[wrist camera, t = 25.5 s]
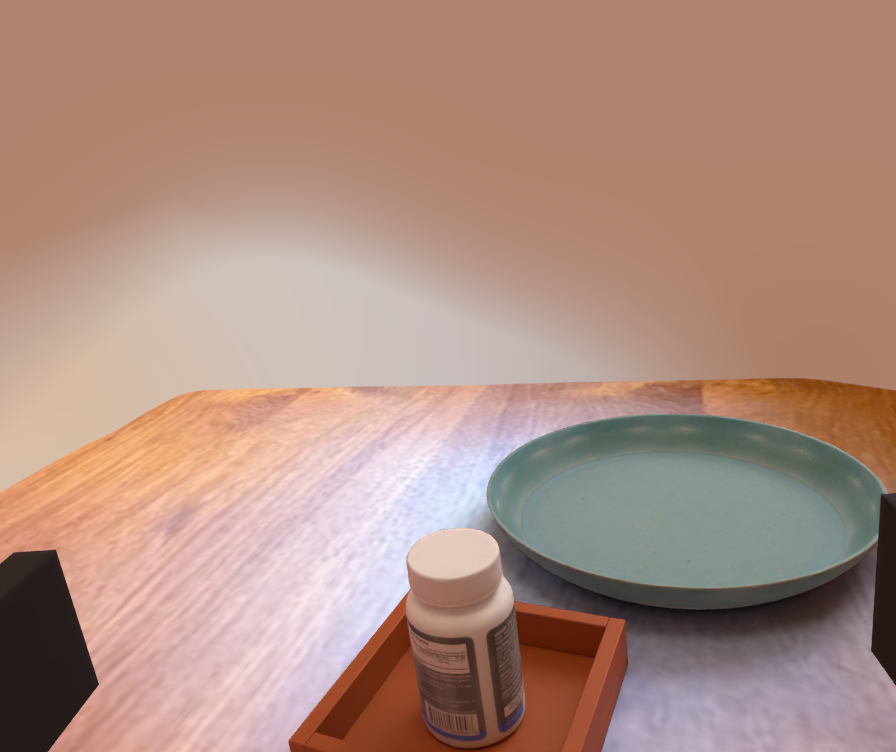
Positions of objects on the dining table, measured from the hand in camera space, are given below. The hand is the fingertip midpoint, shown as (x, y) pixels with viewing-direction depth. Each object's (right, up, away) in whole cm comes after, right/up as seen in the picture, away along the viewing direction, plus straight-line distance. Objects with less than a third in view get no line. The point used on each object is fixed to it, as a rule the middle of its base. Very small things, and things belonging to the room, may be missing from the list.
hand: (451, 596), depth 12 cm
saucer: (+15, -6, +36) cm, 40 cm away
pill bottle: (+1, -12, +22) cm, 25 cm away
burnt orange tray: (+1, -12, +22) cm, 25 cm away
